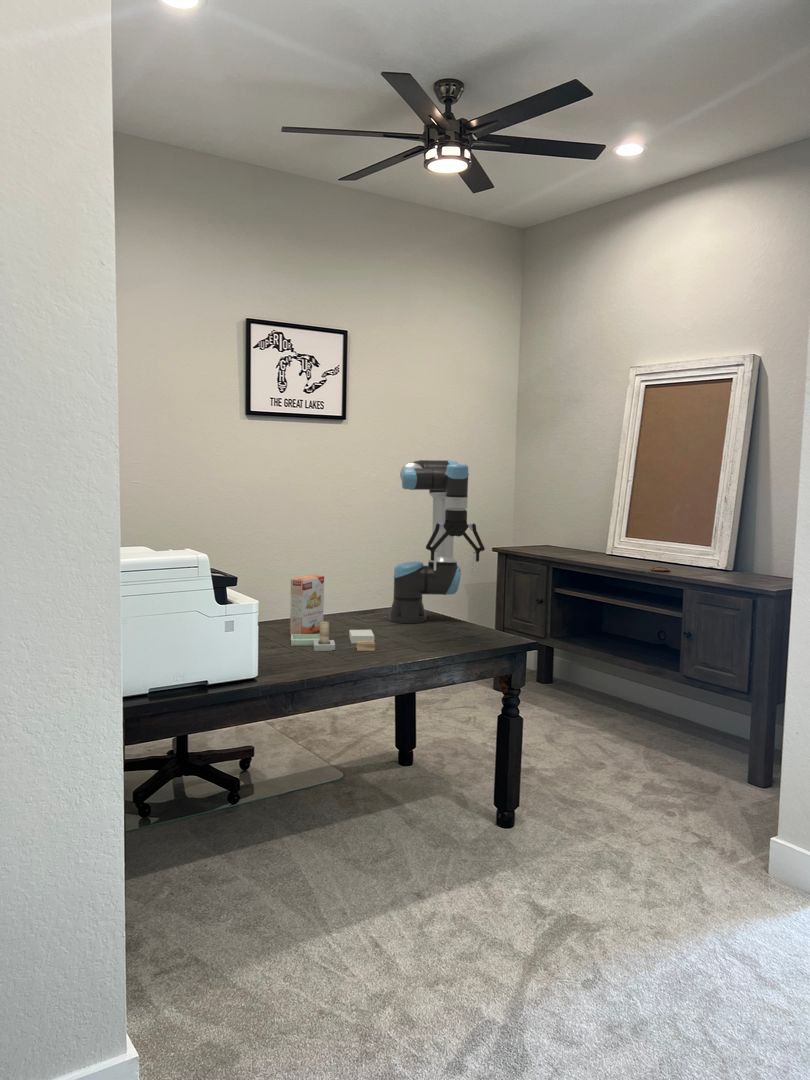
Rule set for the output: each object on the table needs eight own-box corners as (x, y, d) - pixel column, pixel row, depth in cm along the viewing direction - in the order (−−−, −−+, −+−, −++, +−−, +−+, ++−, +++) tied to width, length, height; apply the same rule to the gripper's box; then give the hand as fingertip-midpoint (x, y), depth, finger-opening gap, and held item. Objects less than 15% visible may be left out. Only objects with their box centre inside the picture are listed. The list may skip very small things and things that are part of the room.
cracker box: (302, 637, 283) (303, 580, 280) (289, 635, 286) (289, 578, 283) (324, 630, 295) (325, 575, 293) (311, 628, 298) (311, 573, 296)
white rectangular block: (349, 638, 285) (349, 629, 285) (371, 637, 286) (371, 629, 286) (351, 644, 275) (351, 636, 275) (374, 644, 276) (374, 635, 276)
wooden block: (356, 648, 268) (356, 641, 268) (373, 647, 269) (373, 640, 269) (357, 651, 264) (357, 643, 264) (375, 650, 265) (375, 643, 265)
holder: (313, 646, 270) (313, 640, 270) (333, 645, 271) (333, 640, 271) (314, 651, 263) (314, 645, 263) (335, 650, 264) (335, 644, 264)
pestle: (319, 647, 268) (319, 621, 267) (328, 647, 269) (328, 621, 268) (319, 649, 265) (319, 623, 264) (329, 649, 266) (329, 623, 265)
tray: (290, 639, 278) (291, 634, 278) (325, 639, 280) (325, 633, 280) (291, 646, 269) (291, 640, 269) (326, 645, 271) (326, 639, 271)
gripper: (420, 509, 264) (418, 571, 267) (493, 511, 264) (491, 572, 267) (419, 507, 272) (418, 567, 274) (491, 509, 271) (489, 569, 274)
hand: (454, 570), depth 270 cm, fingers open, 13 cm apart
